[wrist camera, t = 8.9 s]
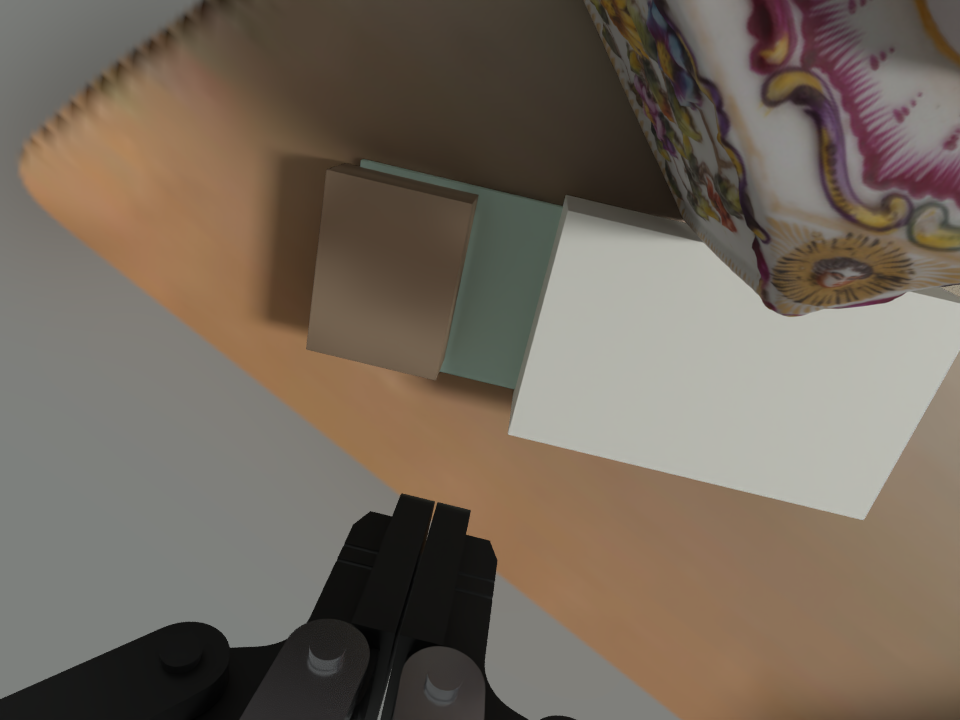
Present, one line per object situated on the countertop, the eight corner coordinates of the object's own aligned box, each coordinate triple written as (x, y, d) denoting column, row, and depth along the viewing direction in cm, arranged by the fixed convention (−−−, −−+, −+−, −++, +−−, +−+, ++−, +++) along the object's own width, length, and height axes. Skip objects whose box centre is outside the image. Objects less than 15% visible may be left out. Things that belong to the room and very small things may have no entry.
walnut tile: (472, 204, 26) (478, 194, 28) (326, 169, 26) (344, 163, 28) (435, 380, 29) (444, 359, 31) (306, 349, 29) (324, 330, 31)
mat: (363, 158, 28) (361, 159, 28) (562, 205, 28) (562, 207, 28) (338, 343, 32) (336, 346, 31) (515, 386, 32) (514, 389, 31)
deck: (565, 194, 28) (568, 210, 24) (926, 279, 28) (983, 308, 24) (512, 394, 32) (507, 434, 28) (827, 470, 32) (863, 520, 28)
